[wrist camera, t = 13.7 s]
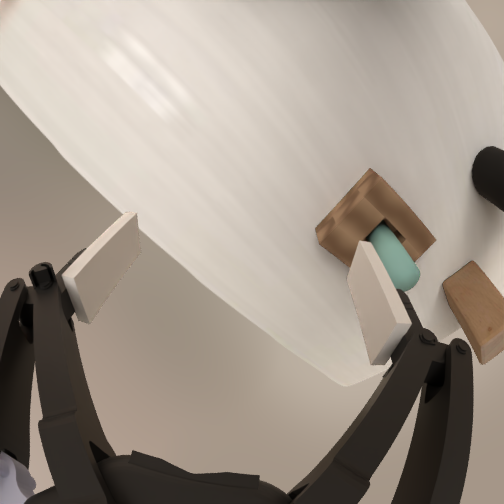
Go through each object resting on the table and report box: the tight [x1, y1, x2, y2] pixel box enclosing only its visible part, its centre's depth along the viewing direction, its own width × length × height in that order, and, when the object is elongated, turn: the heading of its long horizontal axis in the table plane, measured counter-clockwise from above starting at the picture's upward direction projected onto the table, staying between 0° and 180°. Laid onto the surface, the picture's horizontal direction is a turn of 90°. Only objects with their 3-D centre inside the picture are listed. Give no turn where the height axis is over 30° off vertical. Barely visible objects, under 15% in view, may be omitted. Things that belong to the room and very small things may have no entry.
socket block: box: [315, 168, 436, 267], centre depth 42 cm, size 14×16×6 cm
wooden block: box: [443, 261, 504, 365], centre depth 40 cm, size 10×10×20 cm
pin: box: [366, 220, 420, 292], centre depth 37 cm, size 4×4×14 cm
